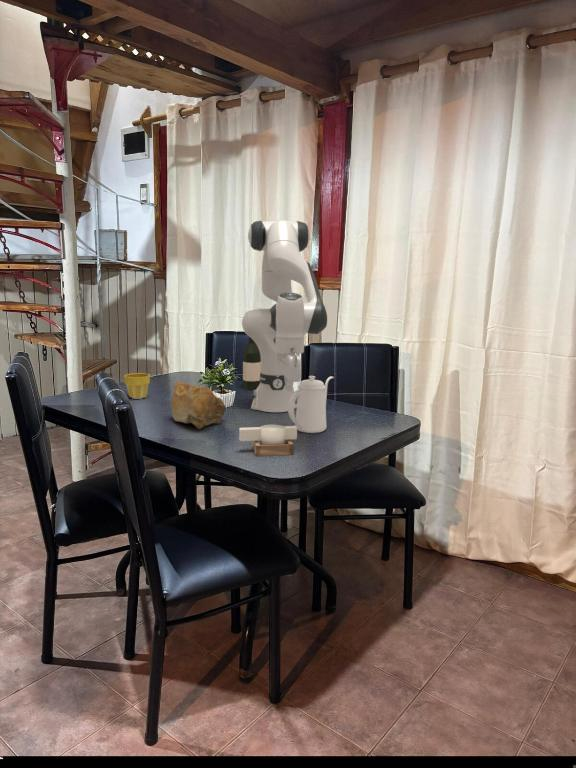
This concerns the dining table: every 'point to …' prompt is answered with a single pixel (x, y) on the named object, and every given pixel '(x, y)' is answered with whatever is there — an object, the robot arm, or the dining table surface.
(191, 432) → the dining table surface
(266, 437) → the white bar with bulge
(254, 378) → the wine bottle
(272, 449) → the cradle
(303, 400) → the coffeepot
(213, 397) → the rough brown rock
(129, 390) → the plant pot
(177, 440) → the dining table surface
